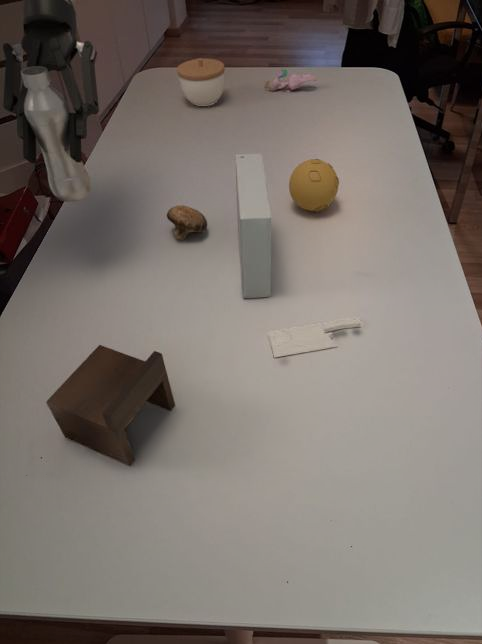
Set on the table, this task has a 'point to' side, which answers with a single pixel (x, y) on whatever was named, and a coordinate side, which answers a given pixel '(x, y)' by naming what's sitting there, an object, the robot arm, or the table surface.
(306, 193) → the stress ball
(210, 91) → the lidded bowl
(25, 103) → the plastic bottle
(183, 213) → the mushroom
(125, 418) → the shelf
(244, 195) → the skincare box
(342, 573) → the table surface
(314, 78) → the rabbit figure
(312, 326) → the white meat cleaver
